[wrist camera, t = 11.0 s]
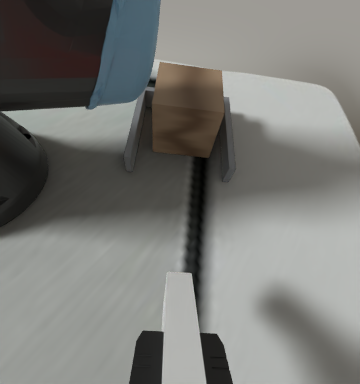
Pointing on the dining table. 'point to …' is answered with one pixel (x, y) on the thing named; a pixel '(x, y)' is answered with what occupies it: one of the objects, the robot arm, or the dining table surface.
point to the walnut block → (186, 109)
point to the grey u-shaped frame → (136, 127)
